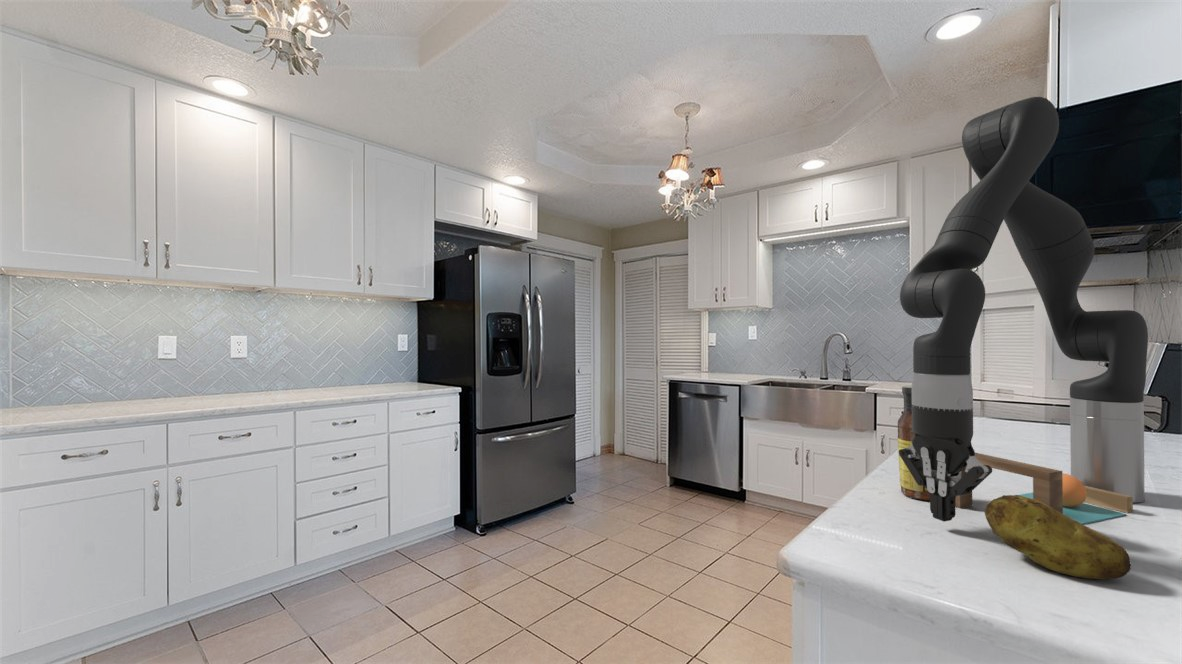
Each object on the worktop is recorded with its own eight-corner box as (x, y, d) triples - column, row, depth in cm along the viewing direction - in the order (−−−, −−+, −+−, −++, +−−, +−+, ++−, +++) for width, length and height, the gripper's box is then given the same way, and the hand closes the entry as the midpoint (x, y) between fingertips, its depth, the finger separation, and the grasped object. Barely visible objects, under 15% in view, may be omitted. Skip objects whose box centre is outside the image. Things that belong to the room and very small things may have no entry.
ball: (1056, 472, 87) (1036, 467, 85) (1096, 480, 82) (1076, 475, 80) (1051, 503, 87) (1031, 498, 85) (1092, 514, 81) (1071, 509, 80)
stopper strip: (1051, 491, 91) (1051, 478, 91) (1132, 511, 81) (1132, 496, 81) (1046, 492, 91) (1046, 478, 91) (1127, 513, 80) (1127, 497, 80)
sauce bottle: (937, 493, 90) (936, 385, 91) (945, 504, 85) (944, 388, 85) (895, 488, 93) (894, 383, 93) (900, 499, 88) (899, 387, 88)
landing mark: (1037, 492, 90) (1037, 491, 90) (1126, 515, 79) (1126, 514, 79) (993, 500, 87) (993, 499, 87) (1079, 525, 75) (1079, 523, 75)
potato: (1109, 599, 54) (1108, 526, 54) (975, 553, 66) (974, 493, 66) (1138, 581, 58) (1137, 513, 58) (1006, 541, 70) (1006, 484, 70)
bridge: (960, 502, 86) (959, 449, 86) (1062, 534, 72) (1062, 470, 72) (947, 504, 85) (947, 450, 85) (1049, 536, 71) (1049, 472, 71)
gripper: (1007, 408, 69) (1008, 532, 69) (917, 397, 82) (918, 502, 81) (970, 411, 67) (971, 540, 67) (883, 399, 79) (884, 507, 79)
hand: (942, 519), depth 74 cm, fingers closed
